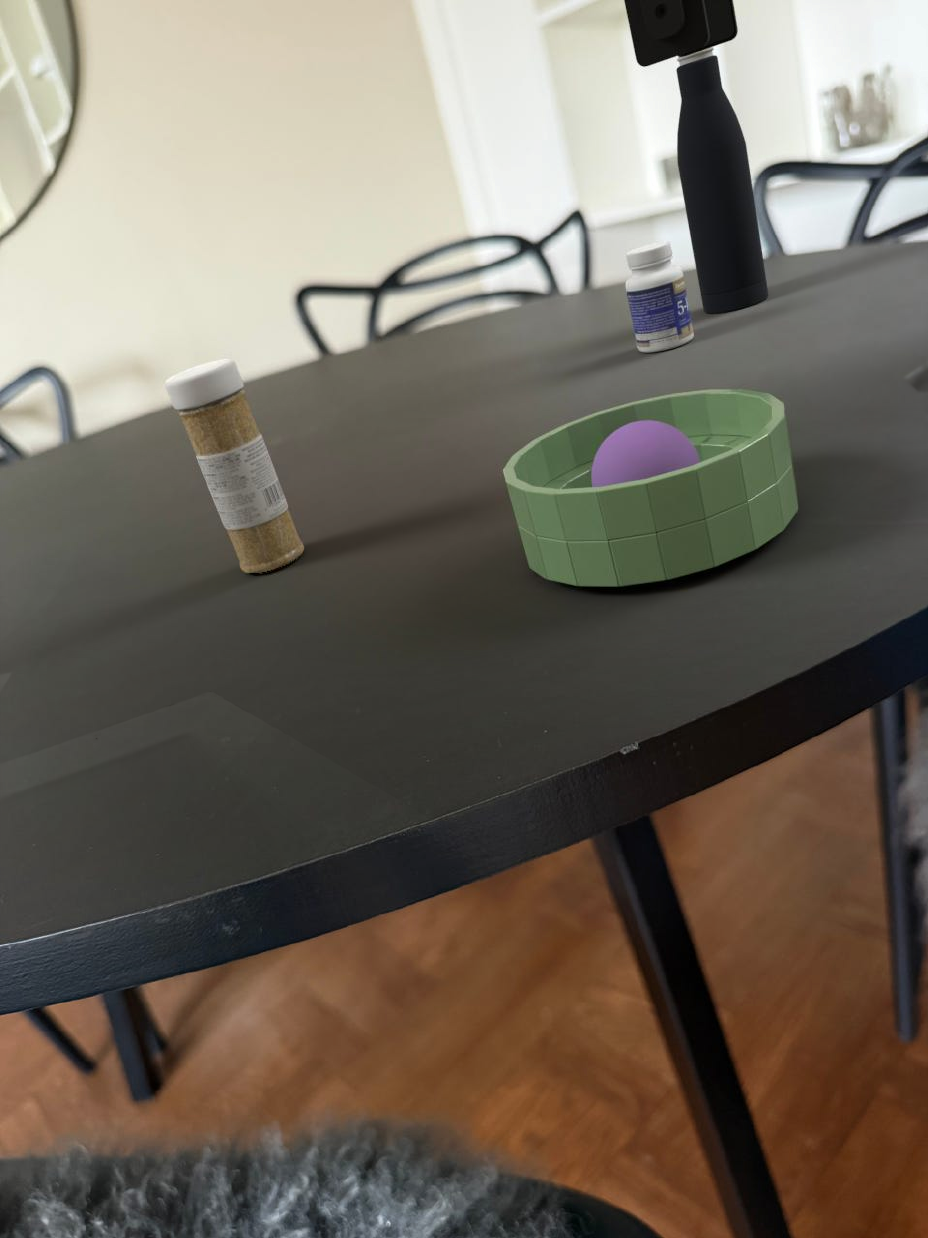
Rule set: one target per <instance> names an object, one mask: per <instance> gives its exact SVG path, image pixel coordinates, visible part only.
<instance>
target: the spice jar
mask: <svg viewBox="0 0 928 1238" xmlns="http://www.w3.org/2000/svg"><path fill="white" fill-rule="evenodd" d="M244 385H245V384H244V381H243V379H242V377H241V373H240V371H239V369H238V366H237V364H236V361H235V360H234V359H232V358H220V359H217V360H212V361H208V362H205V363H201V364H199V365H195V366H193V367H190V368H188V369H185V370H182V371H180V372H178V373H176V374H174V375H173V376H172V375H171V376H170V377H169V378H168V379H166V381H165V382H164V387H165V389H166V392H167V395H168V397H169V400H170V402H171V404H172V407H173V409H174V410H177V411H178V415H179V417H180V418H181V421H182V423H183V425H184V428H185V430H186V433H187V436H188V439H189V441H190V443H191V445H192V448H193V452H194V453H195V457H196V460H197V463H198V465H199V467H200V470H201V472H202V473H201V474H202V475H203V477H204V479H205V483H206V486H207V488H208V491H209V493H210V495H211V497H212V500H213V503H214V505H215V507H216V510H217V512H218V515H219V518H220V520H221V522H222V524H223V527H224V528H225V529H226V532H227V535H228V536H229V538H230V541H231V543H232V546H233V548H234V550H235V553H236V556H237V559H238V560H239V568H240V569H241V571H242V572H243V573H245V574H249V573H259V574H263V573H262V572H266V573H268V572H267V571H270V572H272V571H271V570H273V571H275V570H274V569H276V568H278V569H280V568H279V567H281V568H283V567H282V566H284V567H285V566H287V565H289V564H291V563H293V562H295V561H296V560H298V559H299V558H300V557H301V555H302V554H303V552H304V550H305V545H304V543H303V541H302V540H301V539H300V536H299V534H298V532H297V529H296V527H295V523H294V522H293V519H292V516H291V513H290V511H289V504H288V502H287V499H286V495H285V494H284V491H283V488H282V485H281V483H280V479H279V478H278V475H277V472H276V469H275V467H274V464H273V462H272V459H271V456H270V453H269V452H268V449H267V445H266V443H265V441H264V438H263V435H262V433H260V431H259V428H258V426H257V422H256V420H255V419H254V415H253V412H252V410H251V408H250V405H249V402H248V401H247V397H246V390H245V389H243V387H244ZM299 556H300V557H299ZM298 557H299V558H298ZM295 559H296V560H295ZM294 560H295V561H294ZM292 561H293V562H292ZM290 562H291V563H290ZM286 564H287V565H286ZM276 570H277V569H276Z"/></svg>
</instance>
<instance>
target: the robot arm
mask: <svg viewBox="0 0 928 1238" xmlns="http://www.w3.org/2000/svg"><path fill="white" fill-rule="evenodd" d="M623 1H624V2H623V3H624V7H625V11H626V16H627V20H628V27H629V31H630V36H631V41H632V46H633V51H634V55H635V60H636V62H637V64H638V66H640V67H643V68H646V67H650V66H652V65H655V64H658V63H661V62H663V61H667V60H669V59H672V58H675V57H678V56H679V57H685V56H688V55H691V54H693V53H696V52H699V51H702V50H705V49H708V48H711V47H713V48H714V47H716V46H719V45H722V44H724V43H728V42H731V41H733V40H734V39H736V37H737V35H738V30H739V29H738V28H739V27H738V24H737V15H736V11H735V4H734V0H623Z"/></svg>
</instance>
